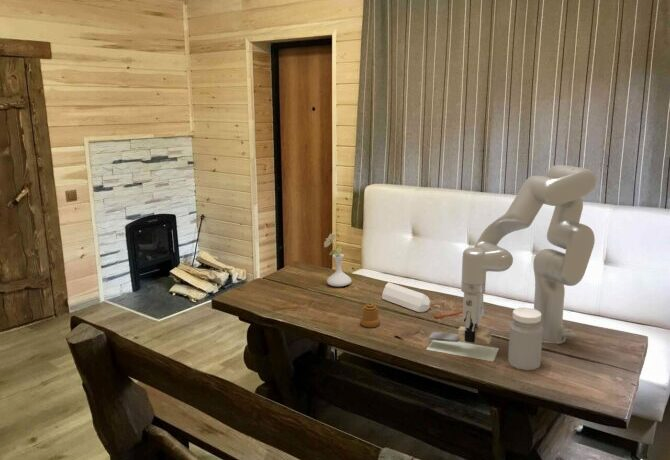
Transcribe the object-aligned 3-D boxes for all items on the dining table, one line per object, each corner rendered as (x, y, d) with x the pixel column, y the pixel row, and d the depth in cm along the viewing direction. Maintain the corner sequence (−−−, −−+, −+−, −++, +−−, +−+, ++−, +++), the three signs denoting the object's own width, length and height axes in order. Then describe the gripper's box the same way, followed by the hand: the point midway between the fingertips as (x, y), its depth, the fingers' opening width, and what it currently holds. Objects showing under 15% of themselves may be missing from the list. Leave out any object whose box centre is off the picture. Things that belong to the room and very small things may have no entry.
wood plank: (427, 330, 206) (415, 327, 209) (427, 325, 205) (415, 322, 208) (406, 343, 194) (393, 339, 197) (406, 337, 193) (394, 334, 196)
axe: (443, 324, 209) (443, 320, 209) (433, 319, 215) (433, 314, 214) (490, 313, 219) (490, 308, 218) (478, 308, 224) (479, 304, 224)
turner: (491, 339, 183) (491, 327, 182) (488, 345, 179) (488, 333, 178) (432, 334, 192) (432, 323, 191) (428, 339, 188) (427, 328, 187)
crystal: (375, 291, 234) (418, 306, 216) (385, 279, 237) (429, 294, 219) (382, 303, 238) (424, 319, 220) (392, 291, 241) (435, 306, 223)
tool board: (499, 351, 186) (499, 348, 186) (493, 364, 177) (493, 361, 177) (434, 340, 195) (434, 337, 195) (426, 352, 187) (426, 349, 187)
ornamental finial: (371, 330, 205) (356, 324, 210) (384, 323, 210) (369, 318, 216) (371, 309, 203) (356, 304, 209) (384, 304, 209) (369, 299, 214)
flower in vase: (340, 278, 263) (339, 227, 257) (356, 284, 254) (355, 231, 248) (318, 285, 255) (316, 232, 249) (334, 291, 246) (333, 236, 240)
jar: (545, 364, 176) (549, 311, 172) (532, 376, 169) (536, 321, 165) (515, 355, 183) (518, 303, 178) (502, 366, 176) (504, 313, 171)
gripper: (479, 296, 171) (476, 351, 175) (490, 280, 185) (487, 332, 189) (455, 293, 174) (453, 347, 178) (467, 277, 188) (465, 328, 192)
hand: (470, 339), depth 184 cm, fingers closed on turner, 3 cm apart
